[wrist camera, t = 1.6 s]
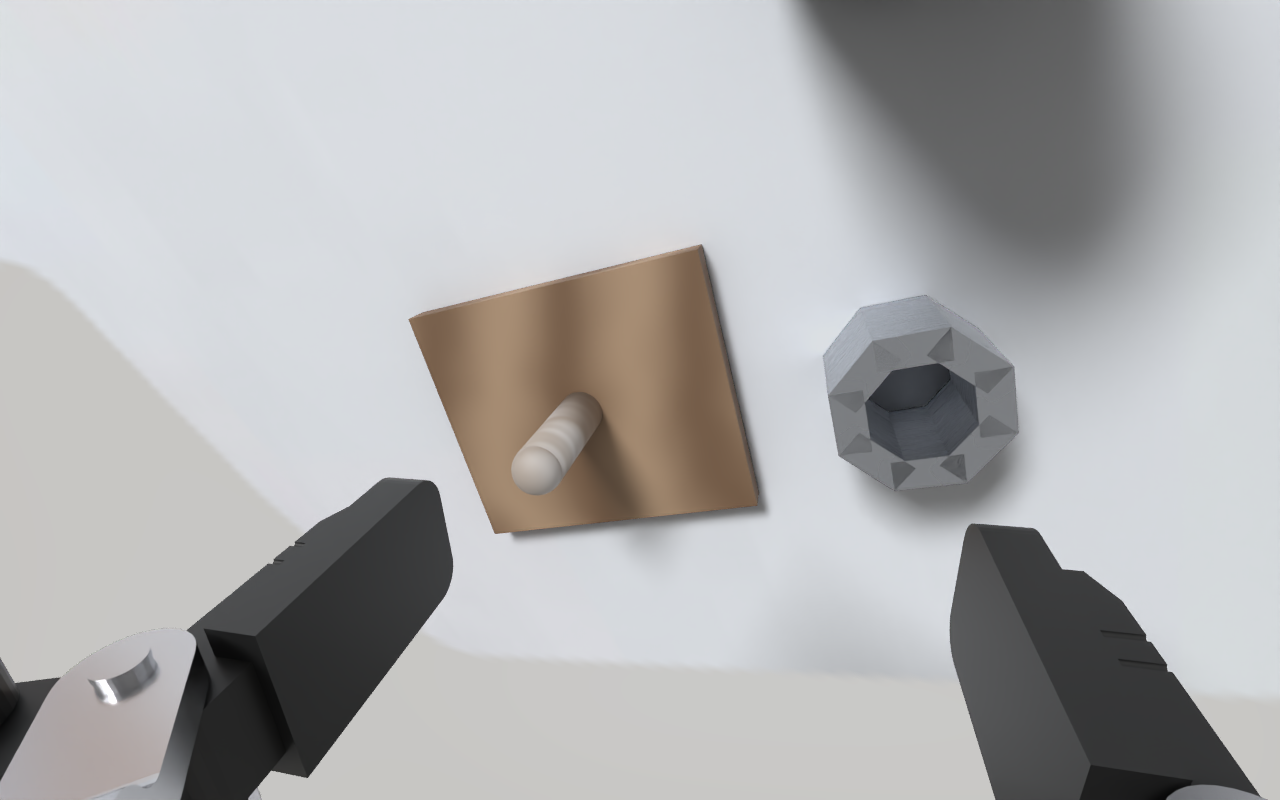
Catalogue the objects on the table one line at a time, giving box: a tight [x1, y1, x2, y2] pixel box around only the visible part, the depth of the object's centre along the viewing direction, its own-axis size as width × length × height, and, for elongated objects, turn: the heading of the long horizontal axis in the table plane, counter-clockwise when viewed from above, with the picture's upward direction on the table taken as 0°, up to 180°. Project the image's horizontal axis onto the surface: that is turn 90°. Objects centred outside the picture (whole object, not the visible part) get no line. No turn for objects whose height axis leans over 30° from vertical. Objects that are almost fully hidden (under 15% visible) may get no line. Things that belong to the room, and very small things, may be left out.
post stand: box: [409, 244, 759, 534], centre depth 26 cm, size 14×12×8 cm
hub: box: [823, 295, 1019, 491], centre depth 24 cm, size 6×6×4 cm
